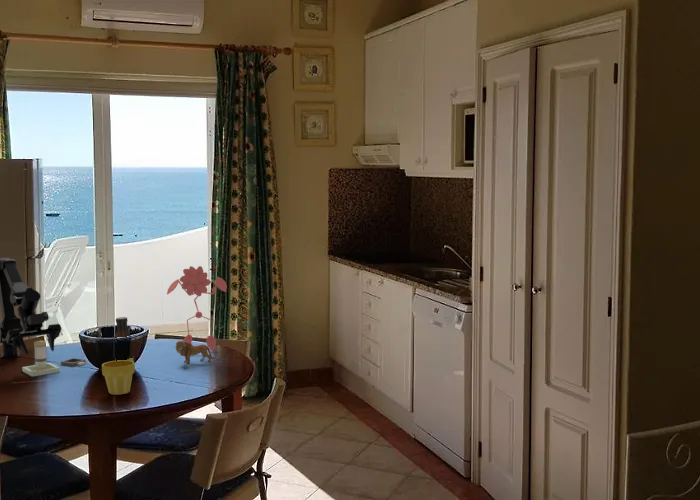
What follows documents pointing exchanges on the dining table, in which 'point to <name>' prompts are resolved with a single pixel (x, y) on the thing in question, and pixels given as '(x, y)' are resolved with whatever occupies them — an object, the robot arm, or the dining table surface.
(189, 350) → the lion figurine
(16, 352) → the robot arm
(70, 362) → the fuse block
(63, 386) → the dining table surface
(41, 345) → the beige round cylinder
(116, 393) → the plant pot
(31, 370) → the parts tray
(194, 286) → the figurine
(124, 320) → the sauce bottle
